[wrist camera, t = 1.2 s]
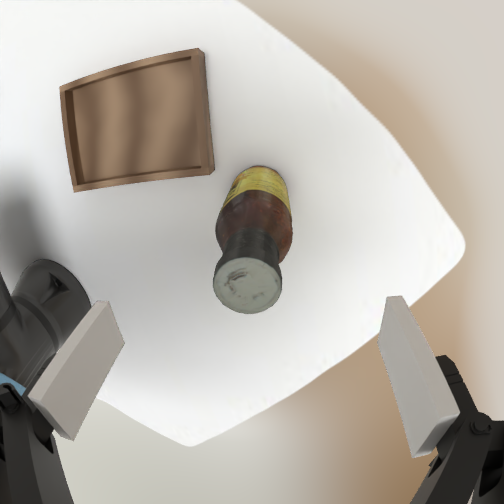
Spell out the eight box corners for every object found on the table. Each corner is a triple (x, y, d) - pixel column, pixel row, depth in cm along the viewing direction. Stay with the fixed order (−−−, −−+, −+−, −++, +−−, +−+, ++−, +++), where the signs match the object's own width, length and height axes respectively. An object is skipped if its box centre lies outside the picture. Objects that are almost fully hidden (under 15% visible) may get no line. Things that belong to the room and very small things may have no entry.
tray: (86, 186, 36) (74, 192, 33) (72, 86, 30) (59, 86, 27) (214, 169, 34) (209, 174, 32) (204, 53, 28) (198, 47, 26)
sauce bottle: (232, 164, 34) (185, 225, 16) (287, 164, 34) (304, 227, 16) (233, 218, 37) (196, 323, 19) (286, 219, 36) (296, 327, 18)
